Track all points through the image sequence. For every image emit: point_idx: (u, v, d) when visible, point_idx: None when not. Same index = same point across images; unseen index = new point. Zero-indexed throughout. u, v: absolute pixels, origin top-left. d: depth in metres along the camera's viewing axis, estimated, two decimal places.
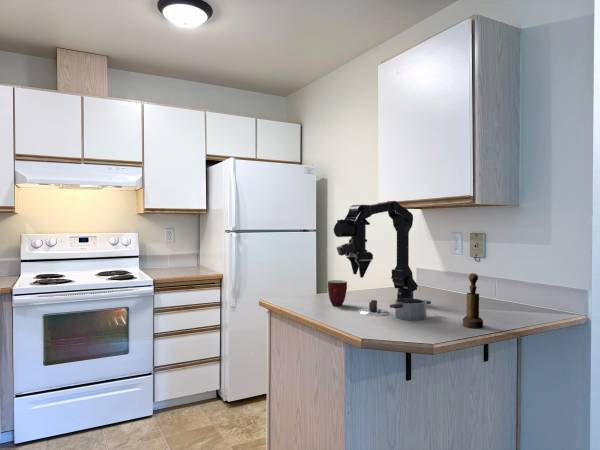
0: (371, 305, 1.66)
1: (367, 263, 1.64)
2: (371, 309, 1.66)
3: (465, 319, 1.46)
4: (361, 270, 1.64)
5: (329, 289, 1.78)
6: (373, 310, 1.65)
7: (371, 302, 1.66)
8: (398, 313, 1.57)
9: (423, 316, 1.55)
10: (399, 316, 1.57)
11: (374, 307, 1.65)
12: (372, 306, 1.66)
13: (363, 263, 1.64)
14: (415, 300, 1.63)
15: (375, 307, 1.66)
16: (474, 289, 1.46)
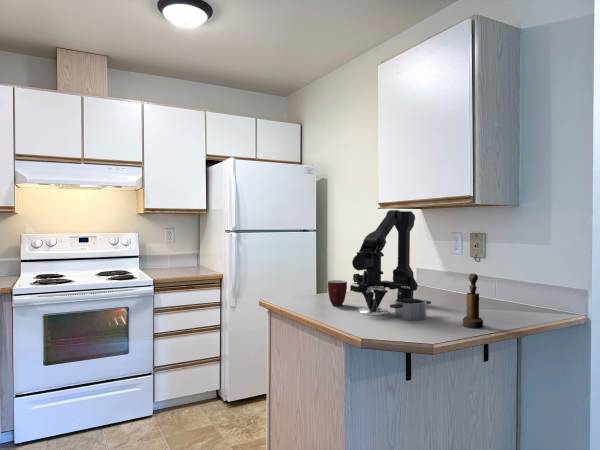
0: None
1: (369, 295, 1.64)
2: (371, 308, 1.66)
3: (465, 319, 1.46)
4: (367, 301, 1.66)
5: (329, 289, 1.78)
6: (373, 309, 1.65)
7: None
8: (398, 313, 1.57)
9: (423, 316, 1.55)
10: (399, 316, 1.57)
11: (374, 306, 1.65)
12: (372, 305, 1.66)
13: (368, 295, 1.65)
14: (415, 300, 1.63)
15: (375, 306, 1.66)
16: (474, 289, 1.46)
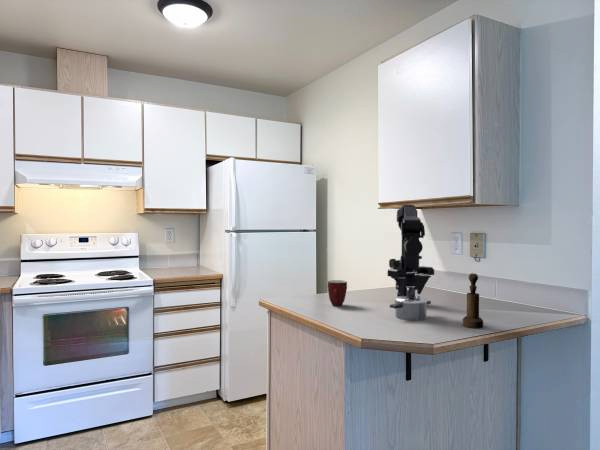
0: (409, 292, 1.58)
1: (402, 281, 1.55)
2: (409, 296, 1.58)
3: (465, 319, 1.46)
4: (400, 288, 1.57)
5: (329, 289, 1.78)
6: (411, 297, 1.58)
7: (409, 289, 1.58)
8: (398, 313, 1.57)
9: (423, 316, 1.55)
10: (399, 316, 1.57)
11: (412, 294, 1.58)
12: (410, 293, 1.58)
13: (401, 281, 1.56)
14: None
15: (413, 294, 1.58)
16: (474, 289, 1.46)
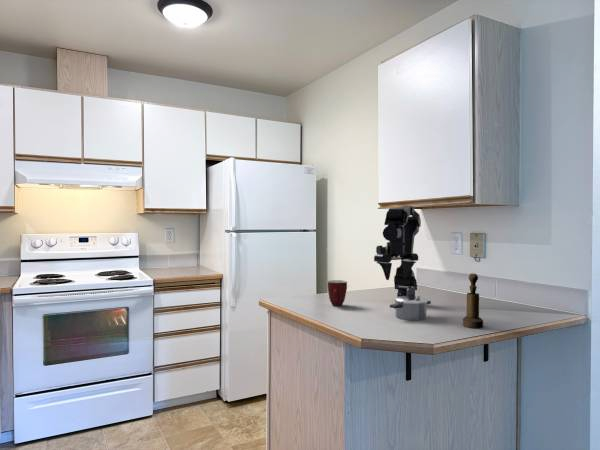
0: (409, 292, 1.58)
1: (387, 266, 1.65)
2: (409, 296, 1.58)
3: (465, 319, 1.46)
4: (384, 272, 1.68)
5: (329, 289, 1.78)
6: (411, 297, 1.58)
7: (409, 289, 1.58)
8: (398, 313, 1.57)
9: (423, 316, 1.55)
10: (399, 316, 1.57)
11: (412, 294, 1.58)
12: (410, 293, 1.58)
13: (386, 266, 1.67)
14: None
15: (413, 294, 1.58)
16: (474, 289, 1.46)
